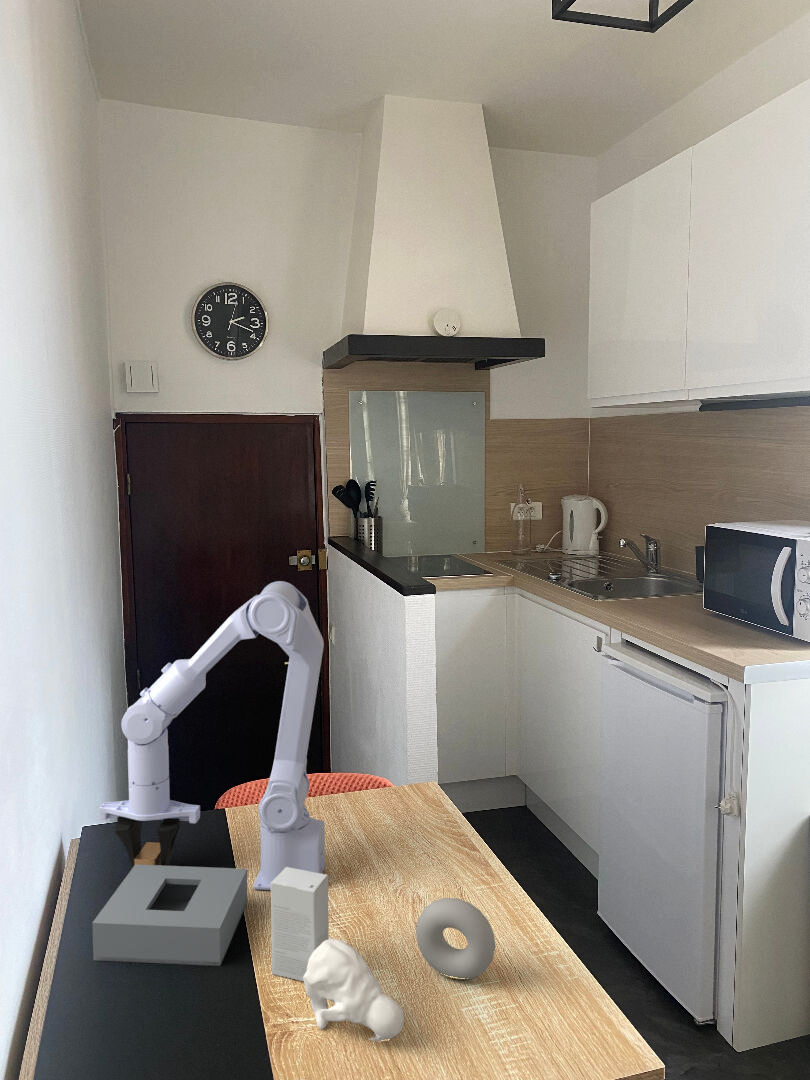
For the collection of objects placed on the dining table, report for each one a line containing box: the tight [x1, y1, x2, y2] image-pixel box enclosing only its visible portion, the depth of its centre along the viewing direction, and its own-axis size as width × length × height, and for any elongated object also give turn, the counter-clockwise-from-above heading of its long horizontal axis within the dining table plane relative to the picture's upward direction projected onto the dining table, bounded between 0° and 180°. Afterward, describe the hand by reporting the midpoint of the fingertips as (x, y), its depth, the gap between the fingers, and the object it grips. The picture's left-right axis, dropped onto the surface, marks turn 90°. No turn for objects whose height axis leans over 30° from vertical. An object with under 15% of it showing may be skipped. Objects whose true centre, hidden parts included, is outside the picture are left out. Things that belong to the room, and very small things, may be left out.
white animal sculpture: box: [302, 937, 405, 1042], centre depth 89 cm, size 6×8×12 cm
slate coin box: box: [91, 864, 248, 967], centre depth 107 cm, size 16×14×5 cm
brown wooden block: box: [134, 841, 161, 865], centre depth 120 cm, size 3×5×4 cm, turn 177°
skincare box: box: [270, 867, 330, 982], centre depth 99 cm, size 6×4×12 cm
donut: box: [415, 897, 497, 980], centre depth 98 cm, size 10×3×10 cm, turn 69°
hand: (151, 865), depth 120 cm, fingers open, 4 cm apart
